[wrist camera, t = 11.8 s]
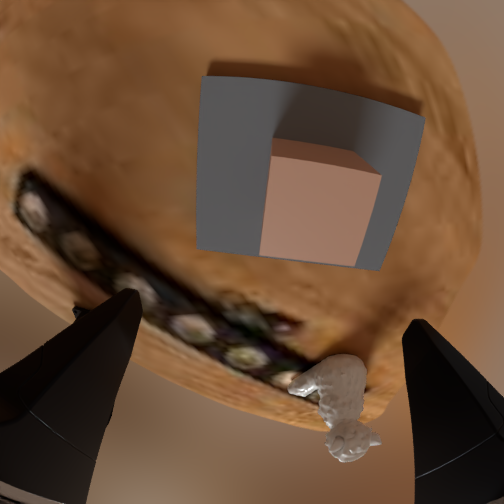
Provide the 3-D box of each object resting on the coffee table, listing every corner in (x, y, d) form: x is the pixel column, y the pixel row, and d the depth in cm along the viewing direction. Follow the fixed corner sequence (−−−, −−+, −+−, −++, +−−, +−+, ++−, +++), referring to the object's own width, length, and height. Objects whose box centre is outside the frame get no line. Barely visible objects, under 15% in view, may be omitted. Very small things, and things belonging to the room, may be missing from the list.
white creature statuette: (286, 383, 31) (284, 472, 21) (306, 342, 26) (311, 455, 16) (354, 386, 31) (364, 468, 21) (385, 348, 26) (408, 445, 16)
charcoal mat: (375, 263, 20) (379, 270, 20) (200, 242, 21) (196, 248, 20) (418, 116, 14) (425, 117, 13) (205, 76, 14) (201, 76, 13)
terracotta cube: (336, 222, 18) (354, 266, 14) (263, 212, 18) (259, 255, 14) (353, 151, 15) (381, 175, 11) (272, 137, 15) (271, 155, 11)
